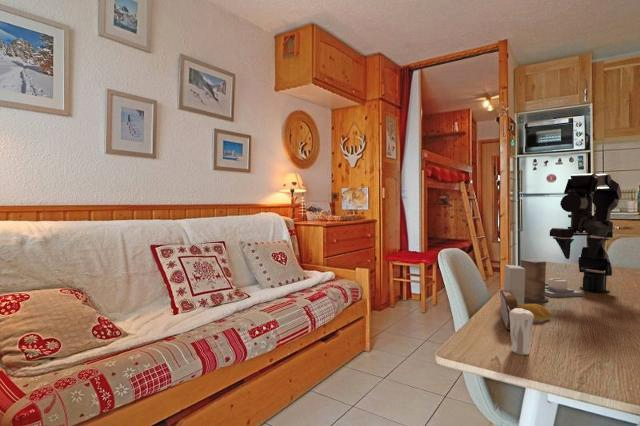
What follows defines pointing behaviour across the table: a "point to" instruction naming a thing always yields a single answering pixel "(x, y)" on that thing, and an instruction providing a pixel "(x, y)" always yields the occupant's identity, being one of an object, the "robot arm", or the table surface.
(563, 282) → the switch tab
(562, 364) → the table surface
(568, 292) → the switch board
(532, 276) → the handle block
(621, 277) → the table surface
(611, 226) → the robot arm
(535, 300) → the coaster
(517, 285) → the skincare box
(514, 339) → the milkshake
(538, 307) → the bread roll
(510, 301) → the tin
